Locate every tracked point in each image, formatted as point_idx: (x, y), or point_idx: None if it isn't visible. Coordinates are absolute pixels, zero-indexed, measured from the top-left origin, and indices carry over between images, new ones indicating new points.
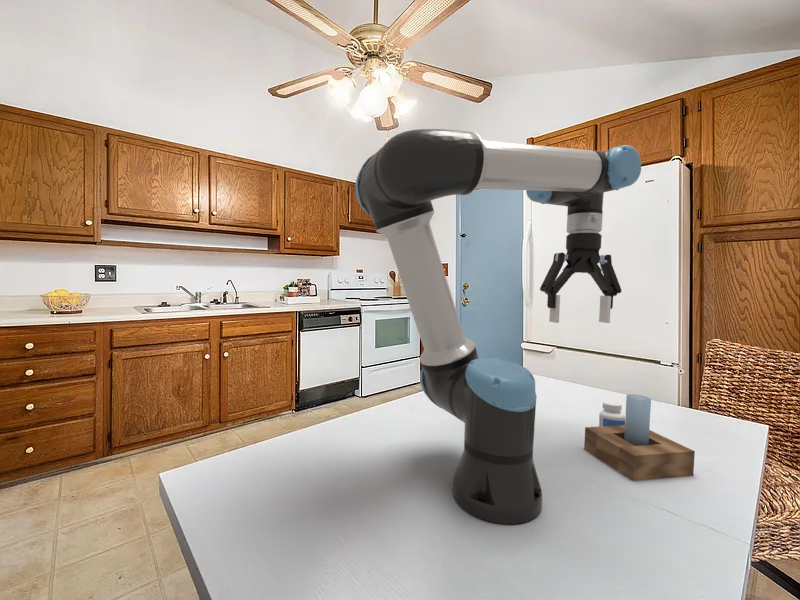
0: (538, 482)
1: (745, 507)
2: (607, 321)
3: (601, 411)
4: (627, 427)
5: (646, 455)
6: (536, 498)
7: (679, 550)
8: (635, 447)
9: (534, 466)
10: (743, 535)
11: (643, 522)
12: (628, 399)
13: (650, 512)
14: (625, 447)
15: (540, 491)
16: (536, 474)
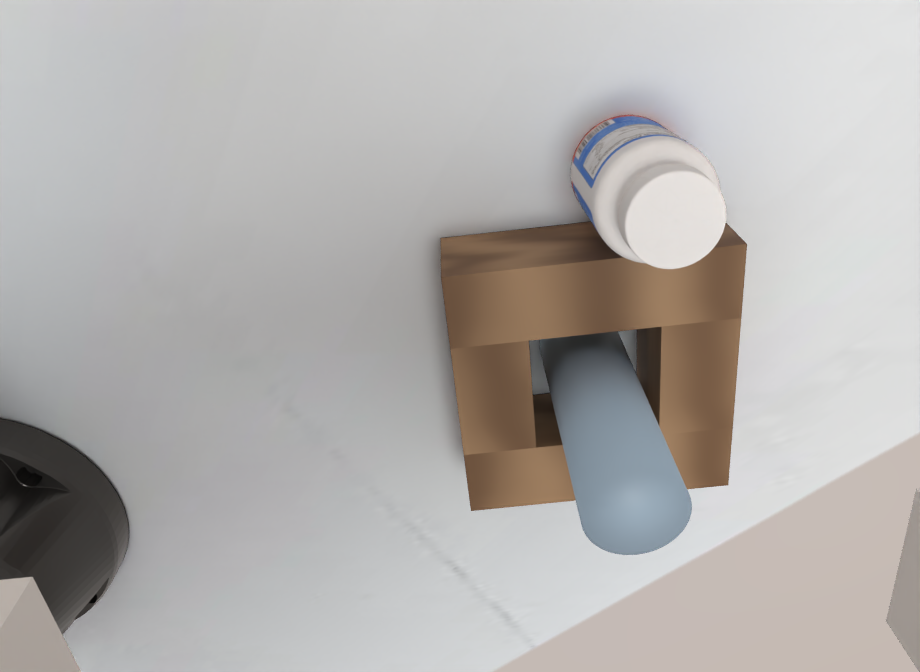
0: (89, 600)
1: (674, 560)
2: (906, 638)
3: (614, 182)
4: (558, 422)
5: (519, 504)
6: (85, 607)
7: (373, 660)
8: (525, 459)
9: (59, 627)
10: (552, 632)
11: (359, 598)
12: (580, 503)
13: (404, 571)
14: (485, 458)
15: (104, 584)
16: (73, 617)
